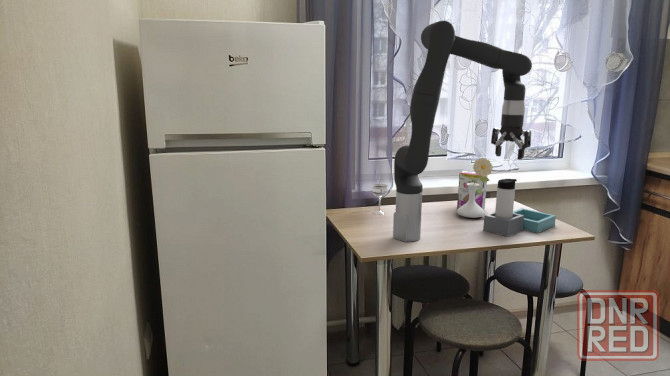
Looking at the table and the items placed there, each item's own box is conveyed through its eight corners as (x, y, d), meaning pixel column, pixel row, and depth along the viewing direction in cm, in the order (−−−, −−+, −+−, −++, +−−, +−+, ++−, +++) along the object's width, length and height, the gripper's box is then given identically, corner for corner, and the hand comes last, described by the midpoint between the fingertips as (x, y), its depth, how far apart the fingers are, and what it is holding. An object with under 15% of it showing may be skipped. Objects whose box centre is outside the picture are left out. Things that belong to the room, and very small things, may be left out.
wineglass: (388, 215, 197) (388, 187, 194) (372, 214, 197) (372, 187, 195) (386, 210, 204) (387, 183, 201) (371, 210, 204) (371, 183, 201)
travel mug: (513, 233, 174) (518, 181, 169) (494, 232, 175) (499, 180, 171) (510, 228, 180) (515, 177, 175) (492, 227, 181) (496, 176, 177)
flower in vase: (455, 218, 192) (458, 158, 187) (458, 211, 203) (461, 154, 197) (488, 221, 188) (493, 160, 182) (489, 214, 198) (494, 156, 193)
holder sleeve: (507, 236, 170) (508, 221, 169) (483, 230, 178) (484, 214, 176) (522, 230, 177) (524, 215, 176) (498, 224, 185) (500, 209, 183)
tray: (537, 232, 175) (538, 222, 174) (503, 224, 185) (504, 214, 184) (554, 225, 183) (555, 215, 182) (521, 217, 194) (522, 208, 193)
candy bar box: (456, 208, 207) (458, 172, 203) (460, 205, 211) (462, 170, 207) (481, 212, 201) (484, 175, 197) (485, 209, 205) (487, 173, 202)
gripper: (489, 112, 170) (486, 156, 174) (526, 114, 160) (522, 161, 163) (500, 111, 175) (497, 154, 179) (537, 113, 164) (532, 159, 168)
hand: (509, 157), depth 171 cm, fingers open, 8 cm apart
